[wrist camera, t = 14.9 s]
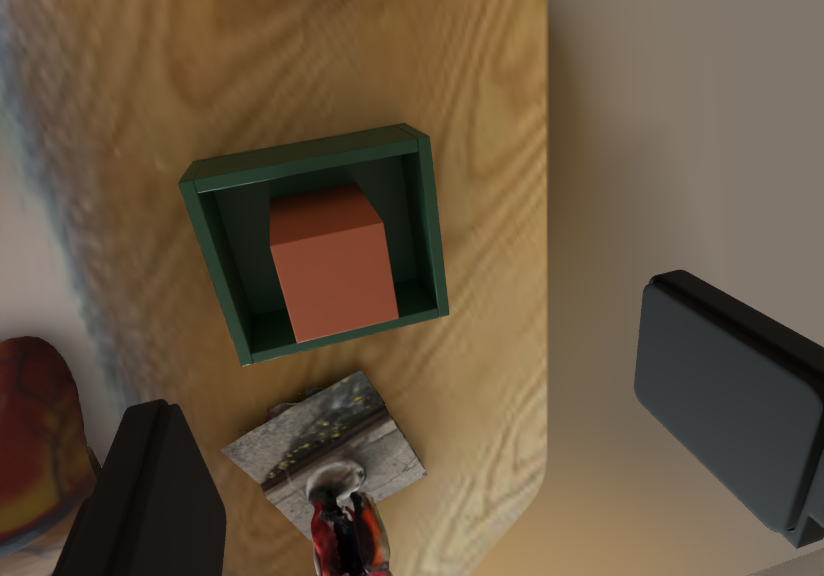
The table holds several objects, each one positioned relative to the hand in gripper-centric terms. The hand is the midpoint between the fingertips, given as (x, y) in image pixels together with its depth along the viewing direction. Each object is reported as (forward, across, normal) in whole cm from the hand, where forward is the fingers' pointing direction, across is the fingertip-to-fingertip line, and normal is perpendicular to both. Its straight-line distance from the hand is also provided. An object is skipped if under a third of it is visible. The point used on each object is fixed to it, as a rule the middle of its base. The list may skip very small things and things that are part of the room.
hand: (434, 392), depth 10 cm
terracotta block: (+18, +1, +3) cm, 18 cm away
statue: (+19, +4, +18) cm, 26 cm away
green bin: (+19, +1, +3) cm, 19 cm away
